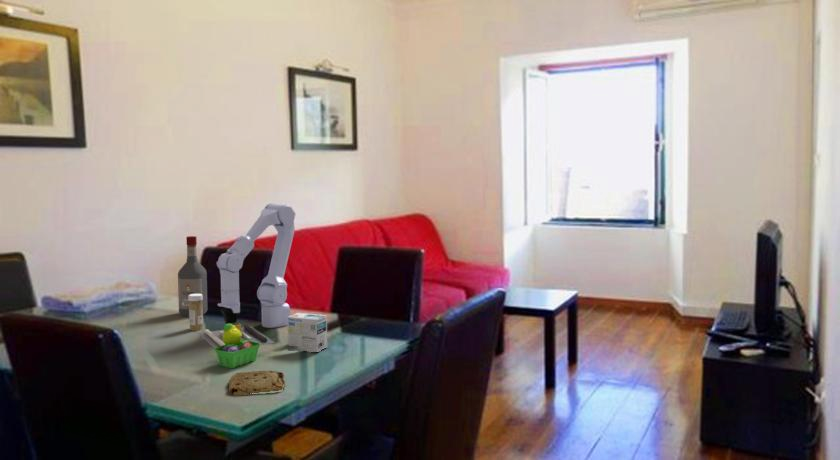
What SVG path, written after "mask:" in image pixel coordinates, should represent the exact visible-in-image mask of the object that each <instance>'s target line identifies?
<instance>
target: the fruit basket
mask: <svg viewBox="0 0 840 460" xmlns="http://www.w3.org/2000/svg"><path fill="white" fill-rule="evenodd" d="M222 330H223V342H224V343H225V345H223V346H220V347H217V348H215V349H214V348H213V350H214V352H215V353H216V357H217V360H218V363H219V366H222V367H224V368H225V367H226V368H230V369H234V368H237V367H240V366H243V365H245V364H244V363H246V364H248V362H249V363H251V362H250V361H252V362H255V361H256V360H257V359H256V358H257V356H258V351H259V348H260V346H261V345H260V343H257V342H252V341H248V340H241V337H242V333H241V332H240V331H239V329H237V328H236V327H235V326H234V325H232V324H226V323H225V325H224V326H223V329H222ZM254 360H255V361H254ZM242 364H243V365H242ZM239 365H240V366H239ZM236 366H237V367H236Z"/></svg>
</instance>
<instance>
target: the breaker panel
mask: <svg viewBox="0 0 840 460" xmlns="http://www.w3.org/2000/svg"><path fill="white" fill-rule="evenodd" d="M248 326H249V325H248ZM249 327H251V328H252V329H254V330H255V331H257V332H258V333H260V334H261V335H263V336H264V337H266V338H267V339H268V340H267V342H263V341H262V340H261V339H259V338H258V337H256V336H255V335H253V334H252V333H251V332H249V331H248V330H246V329H245V328H244V326H243V327H242V326H241V333H242V337H241V340H248V341H252V342H257V343H260V346H264V345H268V344H270V345H271V344H275V343H276V342H275V341H273V340H272V339H271V338H269V337H268V336H266V335H265V334H263V333H262V332H260V331H259V330H257V329H256V328H254V327H253V326H249ZM223 330H224V329H220V330H212V331H210V332H212V333H213V334H214V335H215V336H216V337H218V338H219V339H220V340H221V341H222V342H223ZM197 334H198V335H199V336H200V337H201V338H202V339H203V340H205V342H207V343H208V344H209V345H210V346H211V347H212V348H213V350H214V349H215V348H217V347H220V345H218V344H217V343H216V342H215V341H214V340H213V339H212V338H210V337H209V336H208V335H207V334H206V333H205V331H204V332H198V333H197ZM223 343H224V342H223Z"/></svg>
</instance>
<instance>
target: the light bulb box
mask: <svg viewBox="0 0 840 460" xmlns="http://www.w3.org/2000/svg"><path fill="white" fill-rule="evenodd" d="M327 317H328V315H326V314H315V313H303V312H296V313H293V314H292V315H291V314H290V316H288V325H287V346H290V347H289V348H287V350H288V351H295V350H297V351H296V352H303V351H307V352H306V353H311V352H319V351H320V352H322V351H323V350H322V349H324V348H326V347H327V348H328V318H327ZM327 348H326V349H327ZM321 350H322V351H321ZM324 350H325V349H324ZM308 351H309V352H308ZM320 352H319V353H320Z"/></svg>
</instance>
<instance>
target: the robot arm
mask: <svg viewBox="0 0 840 460" xmlns="http://www.w3.org/2000/svg"><path fill="white" fill-rule="evenodd" d="M295 217H296V212H295V210H294V209H293V207H292V206H291V205H290V204H278V203H276V204H275V203H268V204H266V206H264V208H263V209H261V212H260V215H259V217H258V218H257V220H256V221H255V223H254V224H253V225H252V226H251V228H249V230H248V231H247V233H246V234H245V235H240V236H238V237H237V238H236V239H235V242H234V243H233V244H232V245H231V246H230V247H229V248H228V249H227V250H226V252H224V253H221V254H220V255H219V257H218V260H217V261H216V266H217V268H218V269H219V274H220V298H221V300H220V301H221V302H220V303H219V302H218V303H217V306H218V307H219V308H220V307H223V308H221V309H220V313H221V314H222V316H223V320H224V322H225V325H226V324H227V323H234V322H238V319H239V315H240V314H241V302H240V272H239V271H240V270H241V269H242V268H243V264H244V261H245V259H246V257H247V256H248V255H249V254H250V252H252V250H253V249H254V247H255V241H256V240H257V239H258V238H259V237H260V236H261V235H262V234H263V233H264V232H265V231H266V230H267V229H268V227H270V226H273V227H274V228H275V230H276V231H277V235H276V240H275V244H274V247H273V251H272V257H271V260H270V264H269V270H268V272H267V273H268V274H267V275H266V276H265V277H264V278H263V279H262V280H261V283H260V285H259V286H258V289H257V291H256V296H257V298H258V300H259V301H260V304H261V327H264V328H269V329H270V328H278V327H284V326H288V316H291V308H290V304H288V303H287V302H286V300H287V296H288V292H287V288H288V283H287V282H286V280H285V279H284V277H285V274H286V268H287V266H288V265H287V264H288V261H289V256H290V253H291V252H290V251H291V248H292V243H293V238H294V236H295V228H296V227H295V219H296V218H295Z"/></svg>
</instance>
